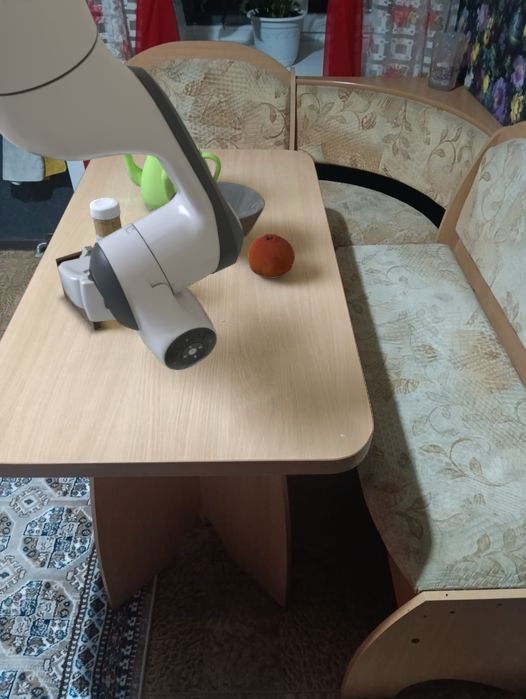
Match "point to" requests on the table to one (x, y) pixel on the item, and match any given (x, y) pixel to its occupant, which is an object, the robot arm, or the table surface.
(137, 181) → the teapot
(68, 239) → the table surface
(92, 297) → the robot arm
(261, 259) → the fruit
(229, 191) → the bowl
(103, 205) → the sprinkles bottle
